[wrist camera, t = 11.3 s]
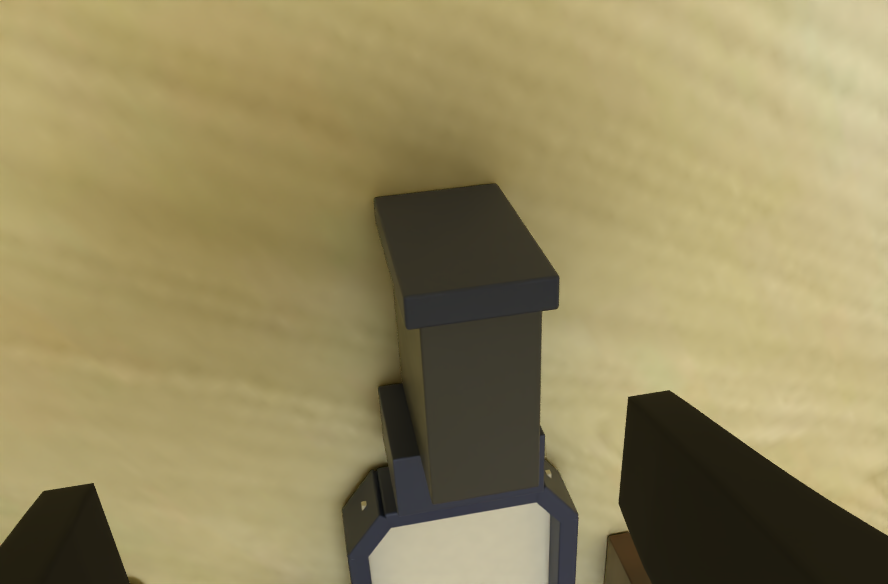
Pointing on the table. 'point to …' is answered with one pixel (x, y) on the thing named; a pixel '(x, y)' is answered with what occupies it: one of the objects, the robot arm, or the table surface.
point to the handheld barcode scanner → (463, 405)
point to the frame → (624, 562)
